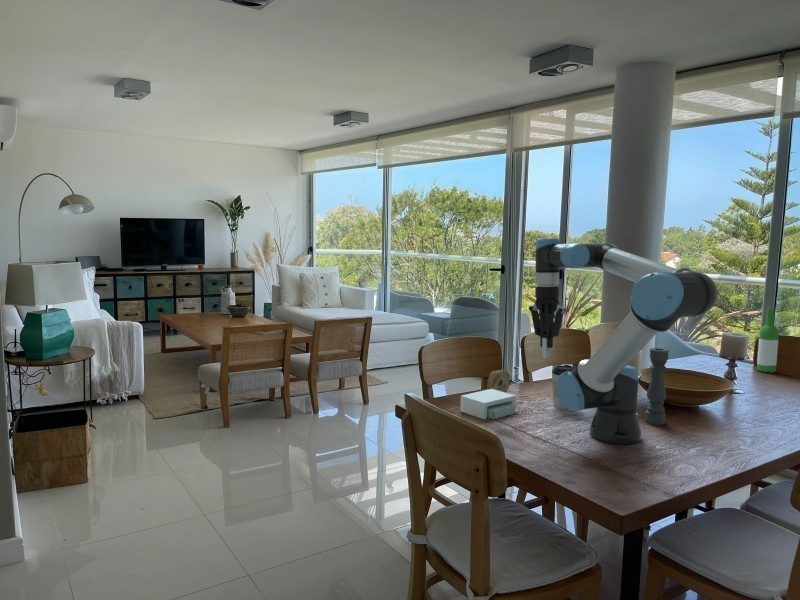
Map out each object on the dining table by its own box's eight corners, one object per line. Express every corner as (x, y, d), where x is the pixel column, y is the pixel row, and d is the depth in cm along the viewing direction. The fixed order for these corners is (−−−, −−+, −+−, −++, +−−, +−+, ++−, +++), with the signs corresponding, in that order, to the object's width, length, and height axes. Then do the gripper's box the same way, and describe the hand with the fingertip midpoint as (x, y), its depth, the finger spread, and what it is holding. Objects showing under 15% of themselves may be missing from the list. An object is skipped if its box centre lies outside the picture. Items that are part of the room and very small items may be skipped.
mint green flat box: (514, 413, 211) (514, 405, 210) (492, 419, 204) (493, 410, 204) (493, 407, 219) (493, 399, 218) (472, 412, 212) (472, 404, 211)
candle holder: (642, 422, 203) (646, 349, 200) (649, 418, 207) (653, 347, 205) (660, 426, 199) (665, 352, 196) (667, 422, 203) (672, 349, 200)
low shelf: (515, 411, 214) (515, 395, 213) (483, 419, 204) (484, 403, 203) (491, 403, 223) (491, 388, 222) (460, 411, 213) (460, 395, 212)
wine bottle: (778, 373, 277) (784, 309, 274) (760, 372, 278) (765, 308, 275) (771, 369, 284) (776, 307, 281) (753, 369, 286) (758, 306, 282)
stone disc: (503, 392, 239) (504, 367, 238) (510, 394, 236) (511, 369, 235) (484, 395, 233) (485, 370, 232) (491, 398, 230) (492, 372, 229)
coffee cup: (570, 411, 214) (572, 370, 212) (546, 406, 219) (548, 366, 218) (579, 405, 221) (581, 366, 219) (556, 401, 227) (558, 362, 225)
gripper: (571, 285, 192) (570, 358, 194) (537, 284, 202) (536, 353, 204) (558, 286, 187) (557, 361, 189) (523, 285, 197) (523, 356, 199)
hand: (546, 357), depth 197 cm, fingers closed
